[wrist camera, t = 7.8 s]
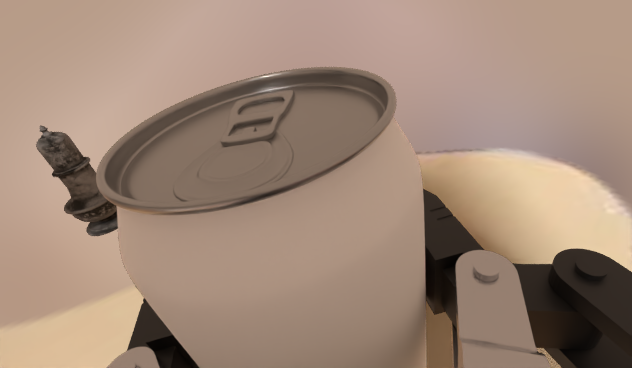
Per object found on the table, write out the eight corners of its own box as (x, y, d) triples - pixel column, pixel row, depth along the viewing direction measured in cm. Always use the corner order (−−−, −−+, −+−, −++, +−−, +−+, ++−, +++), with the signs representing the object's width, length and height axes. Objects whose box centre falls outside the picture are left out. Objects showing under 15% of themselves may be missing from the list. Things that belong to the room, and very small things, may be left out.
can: (249, 502, 11) (-50, 260, 4) (275, 322, 16) (165, 89, 9) (450, 502, 10) (494, 187, 3) (407, 311, 15) (390, 44, 8)
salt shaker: (137, 197, 40) (78, 107, 33) (137, 222, 36) (68, 123, 29) (88, 217, 39) (15, 127, 32) (80, 246, 34) (-6, 147, 27)
